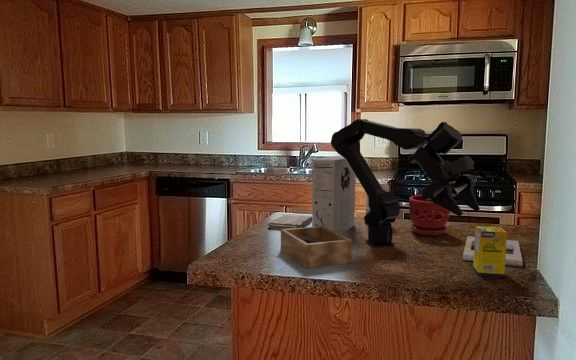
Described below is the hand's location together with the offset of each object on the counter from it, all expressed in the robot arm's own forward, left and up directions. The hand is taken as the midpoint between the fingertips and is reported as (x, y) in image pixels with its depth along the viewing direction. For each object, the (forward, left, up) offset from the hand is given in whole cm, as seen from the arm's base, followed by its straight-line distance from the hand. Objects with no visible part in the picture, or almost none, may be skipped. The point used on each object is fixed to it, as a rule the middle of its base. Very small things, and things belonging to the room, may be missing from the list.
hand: (469, 212), depth 113 cm
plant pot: (+13, +32, -14) cm, 37 cm away
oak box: (-34, +21, -13) cm, 42 cm away
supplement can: (+5, +51, -14) cm, 53 cm away
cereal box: (-15, +46, -14) cm, 50 cm away
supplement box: (0, -7, -14) cm, 15 cm away
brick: (-33, +21, -14) cm, 42 cm away
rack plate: (+14, +6, -13) cm, 21 cm away
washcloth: (-25, +60, -14) cm, 67 cm away
